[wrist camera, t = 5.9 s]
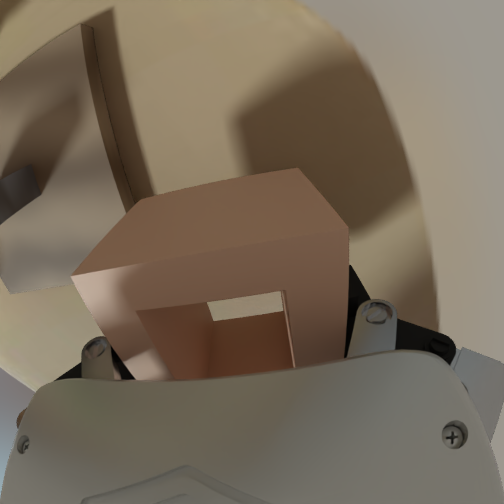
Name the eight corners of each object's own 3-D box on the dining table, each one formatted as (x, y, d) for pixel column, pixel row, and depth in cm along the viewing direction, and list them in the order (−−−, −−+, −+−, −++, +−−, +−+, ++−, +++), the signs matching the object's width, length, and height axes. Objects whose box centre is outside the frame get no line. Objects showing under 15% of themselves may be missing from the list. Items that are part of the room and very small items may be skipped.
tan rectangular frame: (297, 167, 11) (349, 227, 6) (312, 323, 15) (336, 416, 10) (140, 199, 11) (70, 276, 6) (194, 340, 15) (180, 431, 10)
